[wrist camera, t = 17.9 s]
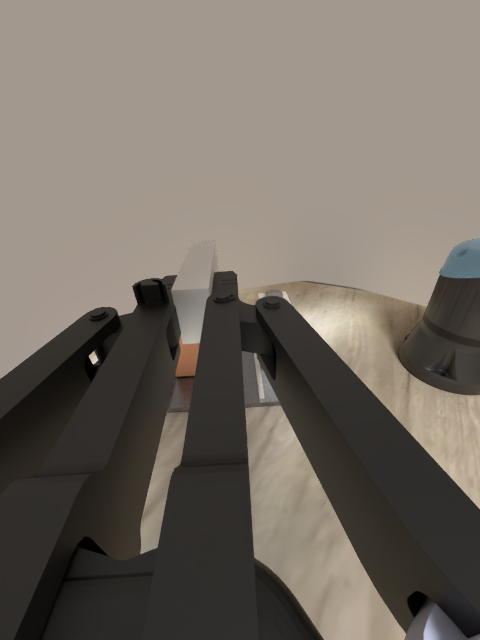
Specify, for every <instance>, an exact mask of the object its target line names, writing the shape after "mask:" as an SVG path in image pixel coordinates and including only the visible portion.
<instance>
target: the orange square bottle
mask: <svg viewBox="0 0 480 640" xmlns="http://www.w3.org/2000/svg"><path fill="white" fill-rule="evenodd" d="M179 343H180V348H181V352H180V357H179V361H178V365H177V369H176V374H175V375H176V377H179V376H195V371H196V365H197V358H198V352H199V345H200V343H194V344H183V343H182V339H181V336H180V339H179Z"/></svg>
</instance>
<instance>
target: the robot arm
mask: <svg viewBox="0 0 480 640" xmlns="http://www.w3.org/2000/svg"><path fill="white" fill-rule="evenodd" d="M439 273H440V276H439V278H438V281H437V283H436V286H435V289H434V291H433V294H432V296H431V299H430V301H429V303H428V306H427V308H426V311H425V313H424V316H423V318H422V320H421V321H420V322H419V323H418V324H417V325H416V326H415V328H414V329H413V330H412V331H411V333H410V334H408V335H407V336H406V337H405V338H404V339H403V341H402V343H401V346H400V348H399V358H400V361H401V362H402V364H403V365H404V367H405V368H406V369H407V370H408V371H409V372H411V373H412V374H413V375H414V376H416V377H417V378H419V379H420V380H422V381H424V382H425V383H427V384H429V385H432V386H434V387H436V388H439V389H442V390H445V391H448V392H452V393H457V394H463V395H480V238H478V239H472V240H468V241H465V242H463V243H460V244H458V245H457V246H455V247H454V248H453V249H452V250H451V251H450V253H449V256H448V257H447V259H446V262H445V264H444V266H443V267H442V268H441V270H440V272H439ZM132 287H133V290H134V294H135V297H136V300H137V303H138V305H137V306H136V308H135V310H134V311H133V313H130V314H125V315H121V316H119V315H118V313H117V311H116V309H114V308H111V307H101V308H96V309H94V310H92V311H90V312H88V313H86V314H85V315H83V316H82V317H81V318H79V319H78V320H77V321H76V322H75V323H73V324H72V325H70V326H69V327H68V328H66V329H65V330H64V331H63V332H61V333H60V334H59V335H57V336H56V337H55V338H53V339H52V340H51V341H50V342H48V343H47V344H46V345H44V346H43V347H42V348H40V349H39V350H38V351H36V352H35V353H34V354H33V355H31V356H30V357H29V358H27V359H26V360H25V361H23V362H22V363H21V364H20V365H18V366H17V367H16V368H14V369H13V370H12V371H10V372H9V373H8V374H7V375H5V376H4V377H3V378H1V379H0V640H324V639H323V637H322V636H321V635H320V633H319V632H318V630H317V629H316V627H315V626H314V624H313V623H312V621H311V620H310V618H309V617H308V615H307V614H306V612H305V611H304V609H303V608H302V606H301V605H300V603H299V602H298V600H297V599H296V598H295V596H294V595H293V593H292V592H291V591H290V589H289V588H288V587H287V586H286V585H285V584H284V582H283V581H282V580H281V579H280V578H279V577H278V576H277V575H276V574H275V573H274V572H273V571H272V570H271V569H269V568H268V567H267V566H266V565H264V564H263V563H261V562H260V561H258V560H257V559H255V558H254V549H253V533H252V516H251V500H250V483H249V466H248V449H247V433H246V416H245V399H244V383H243V366H242V351H245V352H251V353H256V355H257V359H258V361H259V363H260V365H261V367H262V369H263V371H264V373H265V375H266V377H267V379H268V381H269V383H270V385H271V387H272V389H273V391H274V392H275V394H276V396H277V398H278V400H279V402H280V404H281V406H282V408H283V410H284V412H285V414H286V416H287V418H288V420H289V422H290V424H291V426H292V428H293V430H294V432H295V434H296V436H297V438H298V440H299V442H300V444H301V446H302V448H303V449H304V451H305V453H306V455H307V457H308V459H309V461H310V463H311V465H312V467H313V469H314V471H315V473H316V475H317V477H318V479H319V481H320V483H321V485H322V487H323V489H324V491H325V493H326V495H327V497H328V499H329V501H330V503H331V505H332V506H333V508H334V510H335V512H336V514H337V516H338V518H339V520H340V522H341V524H342V526H343V528H344V530H345V532H346V534H347V536H348V538H349V540H350V542H351V544H352V546H353V548H354V550H355V552H356V554H357V556H358V558H359V559H360V561H361V563H362V565H363V567H364V568H365V570H366V572H367V574H368V576H369V577H370V579H371V581H372V583H373V585H374V586H375V588H376V590H377V591H378V593H379V594H380V596H381V598H382V599H383V601H384V602H385V604H386V605H387V607H388V608H389V610H390V611H391V613H392V614H393V616H394V617H395V619H396V620H397V622H398V623H399V625H400V626H401V627H402V629H403V630H404V631H405V633H406V637H405V640H480V509H479V508H478V507H477V506H476V505H475V504H474V503H473V501H472V500H471V499H470V498H469V497H468V496H467V495H466V494H465V493H464V492H463V491H462V489H461V488H460V487H459V486H458V485H457V484H456V483H455V482H454V481H453V480H452V479H451V478H450V476H449V475H448V474H447V473H446V472H445V471H444V470H443V469H442V468H441V467H440V466H439V465H438V463H437V462H436V461H435V460H434V459H433V458H432V457H431V456H430V455H429V454H428V453H427V451H426V450H425V449H424V448H423V447H422V446H421V445H420V444H419V443H418V442H417V441H416V440H415V438H414V437H413V436H412V435H411V434H410V433H409V432H408V431H407V430H406V429H405V428H404V427H403V425H402V424H401V423H400V422H399V421H398V420H397V419H396V418H395V417H394V416H393V415H392V413H391V412H390V411H389V410H388V409H387V408H386V407H385V406H384V405H383V404H382V403H381V402H380V400H379V399H378V398H377V397H376V396H375V395H374V394H373V393H372V392H371V391H370V390H369V389H368V387H367V386H366V385H365V384H364V383H363V382H362V381H361V380H360V379H359V378H358V377H357V375H356V374H355V373H354V372H353V371H352V370H351V369H350V368H349V367H348V366H347V365H346V364H345V362H344V361H343V360H342V359H341V358H340V357H339V356H338V355H337V354H336V353H335V352H334V351H333V349H332V348H331V347H330V346H329V345H328V344H327V343H326V342H325V341H324V340H323V339H322V337H321V336H320V335H319V334H318V333H317V332H316V331H315V330H314V329H313V328H312V327H311V326H310V324H309V323H308V322H307V321H306V320H305V319H304V318H303V317H302V316H301V315H300V314H299V313H298V311H297V310H296V309H295V308H294V307H293V306H292V305H291V304H290V303H289V302H288V301H287V300H286V299H284V298H281V297H278V296H267V297H263V298H260V299H259V300H257V302H256V304H255V305H249V304H246V303H243V302H242V301H240V300H239V298H238V286H237V274H235V273H234V272H233V271H227V272H219V271H218V260H217V251H216V241H204V242H203V241H202V242H191V243H190V246H189V248H188V251H187V253H186V256H185V258H184V261H183V263H182V265H181V268H180V270H179V272H178V275H173V276H165V277H164V278H163V279H159V278H151V279H145V280H142V281H139V282H137V283H135V284H134V285H133V286H132ZM180 336H181V339H182V343H183V344H194V343H200V345H199V352H198V358H197V365H196V371H195V377H194V384H193V390H192V397H191V403H190V410H189V416H188V422H187V429H186V435H185V442H184V448H183V455H182V460H181V463H180V466H178V467H176V468H175V469H174V471H173V473H172V476H171V480H170V484H169V489H168V494H167V500H166V505H165V511H164V516H163V522H162V528H161V533H160V539H159V544H158V548H156V549H153V550H151V551H148V552H146V553H143V554H140V550H141V535H140V525H141V518H142V514H143V509H144V505H145V501H146V497H147V492H148V488H149V484H150V480H151V475H152V471H153V467H154V463H155V458H156V454H157V450H158V446H159V442H160V437H161V433H162V429H163V425H164V420H165V416H166V412H167V408H168V403H169V399H170V395H171V391H172V386H173V382H174V378H175V374H176V369H177V365H178V361H179V357H180V352H181V348H180V343H179V339H180ZM93 351H95V354H96V356H97V358H98V361H97V362H96V363H95V364H94V365H93V364H92V362H91V360H90V358H89V355H90V354H91V353H92V352H93Z"/></svg>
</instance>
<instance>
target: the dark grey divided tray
mask: <svg viewBox="0 0 480 640" xmlns="http://www.w3.org/2000/svg"><path fill="white" fill-rule="evenodd" d="M242 366H243V383H244V399H245V407H261V406H277V405H281V404H280V402H279V400H278V398H277V396H276V394H275V392H274V391H273V389H272V387H271V385H270V383H269V381H268V379H267V377H266V375H265V373H264V371H263V369H262V367H261V365H260V363H259V361H258V359H257V355H256V353H251V352H245V351H242ZM194 377H195V376H179V377H176V375H175V378H174V382H173V386H172V391H171V395H170V399H169V403H168V408H167V412H182V411H189V410H190V403H191V397H192V390H193V384H194Z"/></svg>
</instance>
